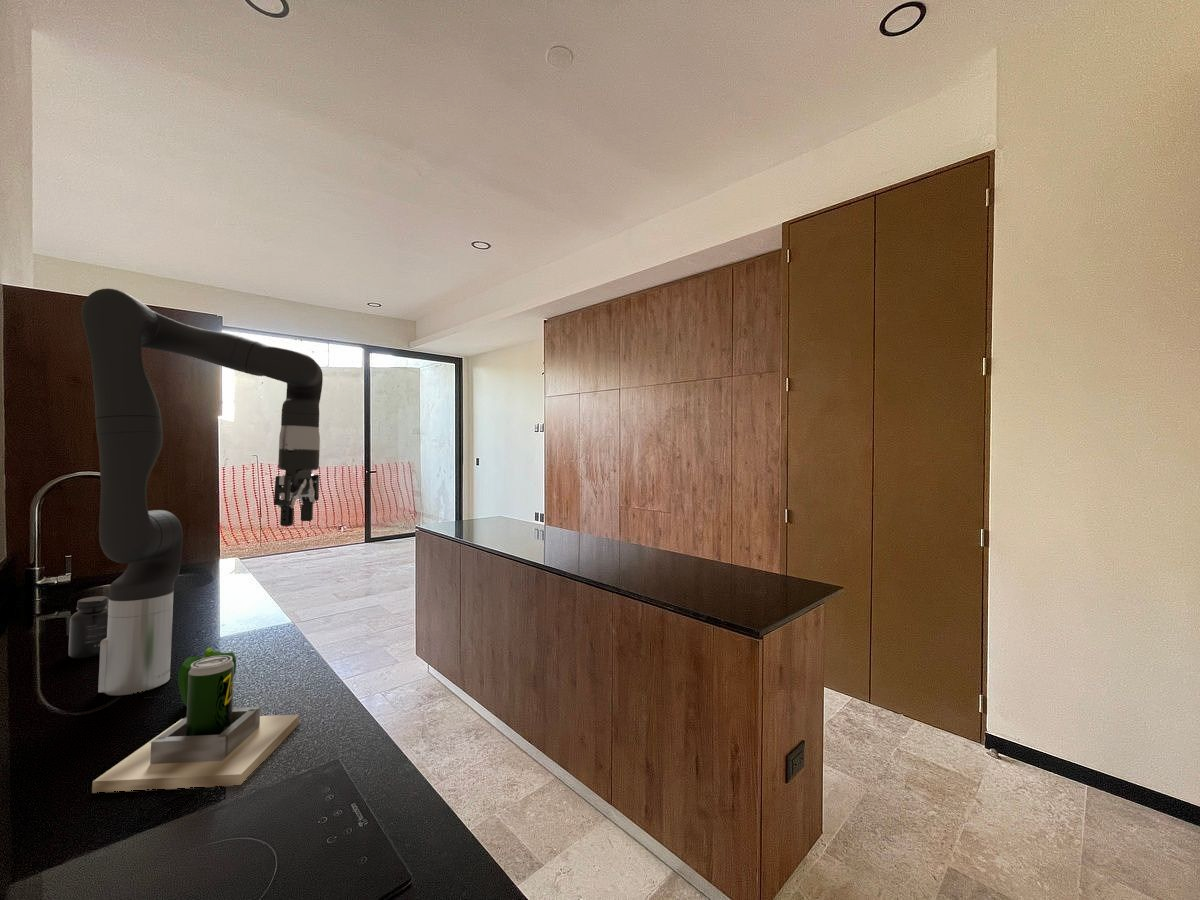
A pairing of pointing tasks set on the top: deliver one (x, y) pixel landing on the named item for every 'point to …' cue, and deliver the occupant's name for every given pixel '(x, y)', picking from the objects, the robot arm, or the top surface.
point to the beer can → (210, 696)
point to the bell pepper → (187, 666)
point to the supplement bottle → (88, 627)
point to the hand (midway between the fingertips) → (297, 523)
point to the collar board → (200, 755)
